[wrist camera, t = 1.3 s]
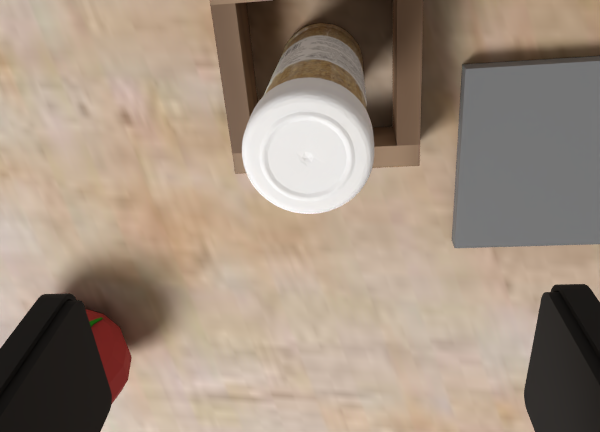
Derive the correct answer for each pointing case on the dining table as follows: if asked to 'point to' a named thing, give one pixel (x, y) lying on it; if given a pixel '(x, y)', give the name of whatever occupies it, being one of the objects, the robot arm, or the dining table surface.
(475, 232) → the mat
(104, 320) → the tomato
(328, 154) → the spice jar
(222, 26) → the brown wooden square tray
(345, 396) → the dining table surface
